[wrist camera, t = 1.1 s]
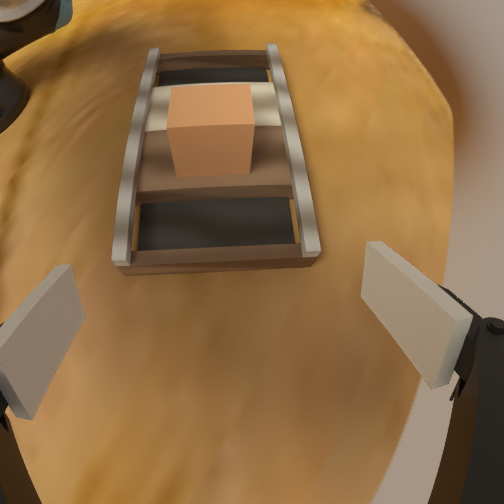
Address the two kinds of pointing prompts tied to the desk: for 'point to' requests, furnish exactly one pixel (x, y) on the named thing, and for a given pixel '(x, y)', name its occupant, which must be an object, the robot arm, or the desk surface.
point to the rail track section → (214, 178)
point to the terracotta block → (211, 129)
